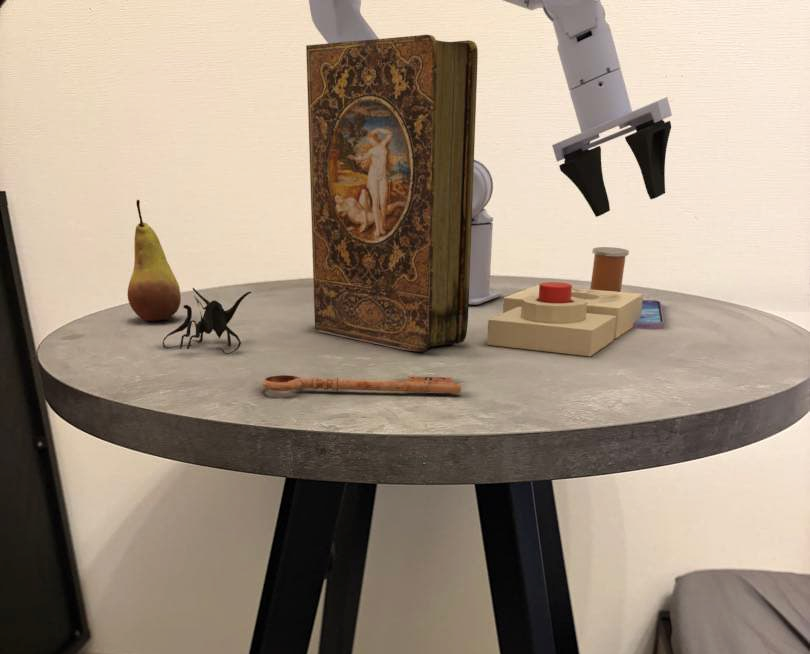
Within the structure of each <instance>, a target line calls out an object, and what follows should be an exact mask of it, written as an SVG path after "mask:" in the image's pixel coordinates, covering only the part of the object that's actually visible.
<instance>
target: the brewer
mask: <svg viewBox="0 0 810 654" xmlns="http://www.w3.org/2000/svg"><path fill="white" fill-rule="evenodd" d="M539 286H540V284H536V285H533V286H531V287H528V288H526V289H523V290H520V291H518V292H514V293H513V294H510V295H508V296H504V297H503V302H502V303H503V304H502V305H503V306H502V307H503V308H502V314H503V313H505V312H507V311H510V310H512V309H514V308H517V307H522V299H523V298H526V297H528V296H538V295H539ZM571 297H576V298H581V299H584V300H585V301H587V310H586V313H591V314H601V315H612V316H616V321H615V330H614V339H613V340H616V339H618V338H619V337H621V336H622V335H624V334H625V333H626V332H628V331H630V330H631V329H633V328H632V327H633V323H634V322H636V321H637V320H638V319H640V318H641V309H642V301H643V300H644V293H639V292H638V293H637V292H624V291H621V292H614V291H602V290H590V289H587V288H577V287H576V288H575V287H572V292H571Z"/></svg>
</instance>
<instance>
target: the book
mask: <svg viewBox="0 0 810 654" xmlns="http://www.w3.org/2000/svg"><path fill="white" fill-rule="evenodd" d="M477 45H478V44H477V43H476V42H475V41H474V40H467V39H466V40H457V41H446V40H445V41H444V40H437V39H436V37H435V36H434V35H432V34H420V35H419V34H417V35H409V36H407V35H406V36H397V37H386V38H379V39H373V40H362V41H351V42H340V43H318V44H309V45H307V44H306V46H305V50H306V84H307V87H306V88H307V113H308V114H307V116H308V147H309V150H308V151H309V179H310V180H309V182H310V184H309V185H310V213H311V214H310V215H311V246H312V247H311V248H312V250H311V251H312V276H313V277H312V278H313V279H312V280H313V281H312V283H313V310H314V313H313V314H314V332H318V333H324V334H329V335H333V336H338V337H340V338H341V337H342V338H347V339H352V340H356V341H361V342H364V343H365V342H366V343H369V344H373V345H374V344H375V345H379V346H383V347H389V348H393V349H399V350H404V351H412V352H417V353H422V352H426V351H428V349H429V348H431V347H437V346H444V345H458V344H463V342H464V341H465V340H466V338H467V332H468V326H469V307H470V304H469V281H470V253H471V226H472V199H473V171H474V160H475V141H476V140H475V139H476V118H477V117H476V115H477V113H476V112H477V85H478V61H479V60H478V59H479V57H478V46H477Z"/></svg>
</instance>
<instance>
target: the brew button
mask: <svg viewBox="0 0 810 654" xmlns="http://www.w3.org/2000/svg"><path fill="white" fill-rule="evenodd" d="M539 285H540V286H539V299H538V301H539V302H544V303H571V292H572V288H573V284H571V283H568V282H555V281H554V282H553V281H551V282H550V281H549V282H548V281H547V282H541V283H539Z"/></svg>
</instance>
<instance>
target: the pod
mask: <svg viewBox="0 0 810 654" xmlns="http://www.w3.org/2000/svg"><path fill="white" fill-rule="evenodd" d="M629 253H630V251H629V250H628V249H625V248H621V247H612V246H611V247H610V246H601V247H599V246H598V247H594V248H592V254H594V257H593V263H592V264H593V265H592V274H591V281H590V290H602V291H614V292H622V286H623V279H624V272H625V264H626V257H627V256H629Z"/></svg>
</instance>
